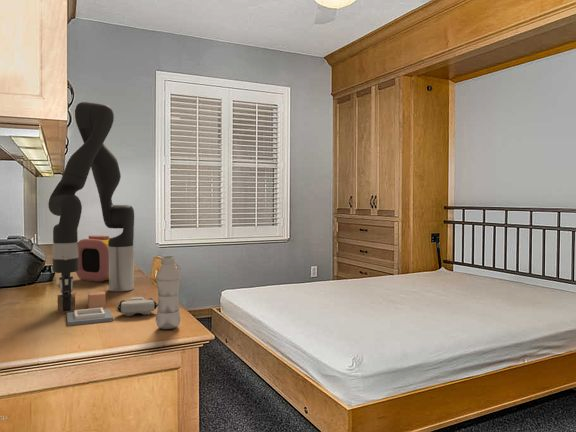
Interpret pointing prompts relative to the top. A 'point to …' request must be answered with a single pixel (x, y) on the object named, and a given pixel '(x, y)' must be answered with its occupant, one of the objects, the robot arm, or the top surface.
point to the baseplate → (89, 316)
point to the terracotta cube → (97, 300)
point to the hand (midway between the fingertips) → (66, 308)
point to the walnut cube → (60, 304)
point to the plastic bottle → (168, 294)
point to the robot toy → (137, 306)
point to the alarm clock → (94, 258)
